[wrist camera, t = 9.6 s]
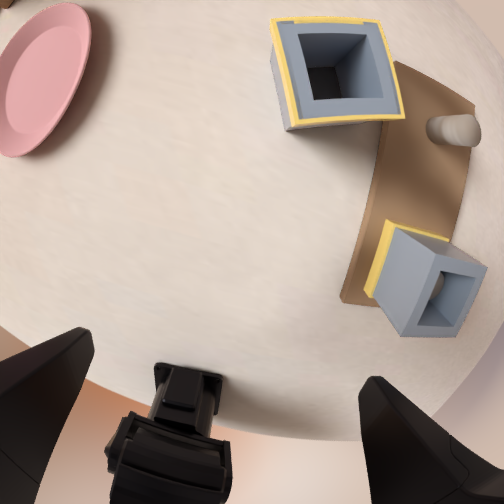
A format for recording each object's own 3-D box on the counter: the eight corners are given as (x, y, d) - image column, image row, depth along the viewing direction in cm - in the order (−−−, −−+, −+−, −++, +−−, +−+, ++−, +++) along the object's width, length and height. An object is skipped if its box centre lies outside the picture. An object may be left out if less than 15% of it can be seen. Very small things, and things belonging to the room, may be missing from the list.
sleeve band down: (440, 234, 17) (490, 264, 11) (417, 296, 19) (455, 339, 13) (385, 218, 17) (434, 249, 11) (363, 289, 19) (396, 339, 13)
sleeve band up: (361, 126, 16) (405, 118, 10) (282, 134, 16) (295, 124, 10) (345, 54, 14) (379, 20, 8) (266, 58, 14) (270, 19, 9)
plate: (134, 12, 12) (123, 2, 11) (62, 175, 17) (46, 179, 15) (35, 12, 10) (24, 7, 9) (-14, 137, 15) (-27, 138, 13)
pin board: (418, 305, 20) (445, 338, 16) (339, 296, 20) (359, 335, 15) (467, 105, 14) (508, 103, 9) (389, 64, 14) (425, 44, 9)
